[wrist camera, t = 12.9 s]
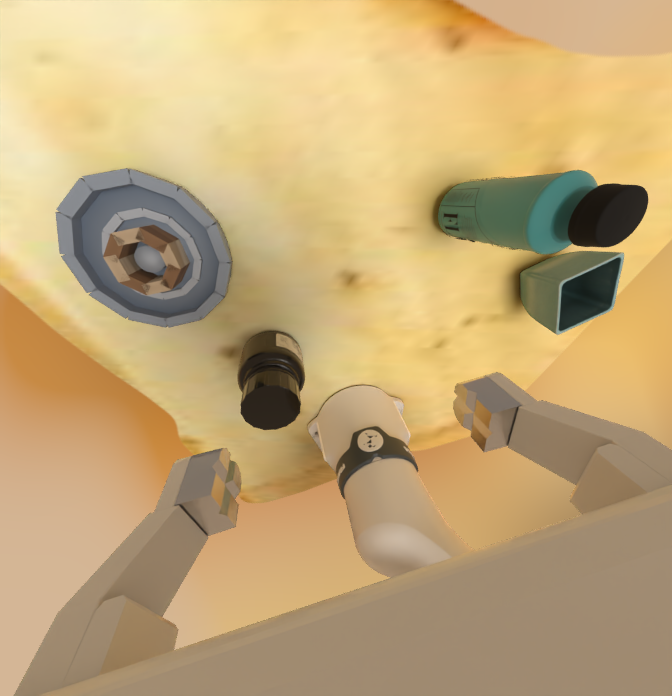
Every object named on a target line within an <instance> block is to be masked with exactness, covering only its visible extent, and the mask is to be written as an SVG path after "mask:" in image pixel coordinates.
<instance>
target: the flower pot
mask: <svg viewBox="0 0 672 696" xmlns="http://www.w3.org/2000/svg"><path fill="white" fill-rule="evenodd" d="M623 260H624V253H617V252H595V251H579V252H571V253H566V254H562V255H558V256H555V257H552V258H549V259H547V260H545V261H543V262H540V263H538V264H536V265H534V266H532V267H530V268H528V269H526V270H524V271H522V272H521V273H520V296H521V300H522V303H523V305H524V307H525V309H526V311H527V312H528V313H529V315H530V316H531V317H532V318H534V319H535V320H536V321H538V322H539V323H540V324H542V325H543V326H545V327H546V328H548V329H549V330H551V331H552V332H554V333H555V334H557V335H559V334H561V333H563V332H566V331H568V330H570V329H572V328H574V327H576V326H579V325H581V324H583V323H585V322H587V321H589V320H592V319H594V318H596V317H598V316H600V315H603V314H605V313H607V312H609V311H610V310H612V309H613V307H614V304H615V299H616V294H617V288H618V283H619V278H620V274H621V270H622V265H623Z"/></svg>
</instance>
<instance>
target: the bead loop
mask: <svg viewBox="0 0 672 696" xmlns="http://www.w3.org/2000/svg"><path fill="white" fill-rule="evenodd" d="M140 241H141V242H143V243H145V244H147V245H148V246H150V247H152V248H154V249H156V250H158V251H159V252H160V254H161V256H162V258H163V260H164V262H165V264H166V266H167V268H166V271H165V273H164V275H160V276H158V275H156V274H154V273H151V272H147V271H145V270H143V269H142V268H140V267H139V266H138V264H137V263H136V261H135V258H134V254H135V251H136V248H137V246H138V243H139V242H140ZM103 258H104V260H105V261H106V263H107V264H108V266H109V268H110V269H111V271H112V272H113V274H114V276H115V277H116V279H117V280H118V282H119V283H121V284H123V285H125V286H127V287H129V288H132V289H134V290H136V291H138V292H140V293H143V294H145V295H152V294H156V293H160V292H165V291H169V290H172V289H173V288H174V287H176V286H177V285H178V284H179V283H180V282H182V280H183V277H184V275H185V273H186V271H187V268H188V266H189V264H190V261H189V259H188V257H187V255H186V253H185V250H184V248H183V246H182V244H181V242H180V239H178V238H177V237H175V236H173V235H171V234H170V233H168V232H166V231H164V230H162V229H161V228H159V227H157V226H155V225H148V226H143V227H138V228H133V229H128V230H123V231H118V232H113V233H111V234H110V237H109V240H108V243H107V246H106V249H105V252H104V255H103Z"/></svg>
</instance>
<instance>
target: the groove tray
mask: <svg viewBox="0 0 672 696" xmlns="http://www.w3.org/2000/svg"><path fill="white" fill-rule="evenodd" d="M82 177H83V178H79V180H78V181H77V182H76V184H75V185H74V186H73V188H72V189H71V190H70V192H69V193H68V194H67V196H66V197H65V198H64V200H63V201H62V202H61V204H60V205H59V206H58V208H57V209H56V210H58V211H59V212H56V221H57V231H58V241H59V251H60V254H64V256H61V257H62V258H63V260H64V261H65V263H66V264H67V266H68V267H69V268H70V270H71V271H72V273H73V274H74V276H75V277H76V278H77V280H78V281H79V283H80V284H81V285H82V287H83V288H84V290H85V291H86V293H89V292H91V293H90V294H89V295H90V296H91V297H93V298H94V299H96V300H97V301H99V302H101V303H102V304H104V305H105V306H107V307H108V308H110V309H111V310H113V311H115V312H116V313H118V314H119V315H121V316H122V317H124V318H125V319H126V318H127V317H128V320H132V321H137V322H142V323H147V324H152V325H157V326H161V327H167V326H168V327H173V326H177V325H181V324H186V323H190V322H194V321H199V320H201V319H203V318H204V317H205V316H206V315H207V314H208V313H209V312H210V311H211V310H212V309H213V308H214V307H215V306H216V305H217V304H218V303H219V302H220V301H221V300H222V299H223V298H224V297H225V295H226V293H227V289H228V284H229V281H230V277H231V269H232V261H231V260H232V257H231V254H230V249H229V245H228V242H227V239H226V237H225V235H224V232H223V230H222V229H221V227H220V225H219V223H218V222H217V220H216V219H215V218H214V216H213V215H212V214H211V213H210V211H209V210H208V209H207V208H206V207H205V206H204V205H203V204H202V203H201V202H200V201H199V200H197V199H196V198H195V197H194V196H192V195H191V194H190V193H189V192H188V191H187V190H186V189H183V188H182V187H181V186H178V185H175V184H173V183H171V182H168V181H166V180H164V179H160V178H157V177H154V176H151V175H148V174H146V173H143V172H140V171H138V170H133V169H127V168H126V169H121V170H115V171H110V172H104V173H99V174H93V175H88V176H82ZM148 225H155V226H157V227H159V228H161V229H162V230H164V231H166V232H168V233H170V234H171V235H173V236H175V237H177V238H178V239H180V242H181V244H182V246H183V248H184V250H185V253H186V255H187V257H188V259H189V261H190V264H189V266H188V268H187V271H186V273H185V275H184V277H183V280H182V282H180V283H179V284H178V285H177V286H176V287H174V288H173V289H172V290H169V291H165V292H160V293H156V294H152V295H145V294H143V293H140V292H138V291H136V290H134V289H132V288H129V287H127V286H125V285H123V284H121V283H119V282H118V280H117V279H116V277H115V276H114V274H113V272H112V271H111V269H110V268H109V266H108V264H107V263H106V261H105V260H104V258H103V255H104V252H105V249H106V246H107V243H108V240H109V237H110V234H111V233H113V232H118V231H123V230H128V229H133V228H138V227H143V226H148ZM134 258H135V261H136V263H137V264H138V266H139V267H140V268H142V269H143V270H145V271H147V272H151V273H154V274H156V275H158V276H160V275H164V273H165V271H166V268H167V266H166V264H165V262H164V260H163V258H162V256H161V254H160V252H159V251H158V250H156V249H154V248H152V247H150V246H148V245H147V244H145V243H143V242H141V241H140V242H139V243H138V246H137V248H136V251H135V254H134Z"/></svg>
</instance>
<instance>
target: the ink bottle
mask: <svg viewBox="0 0 672 696" xmlns="http://www.w3.org/2000/svg"><path fill="white" fill-rule="evenodd" d="M304 381H305V372H304V365H303V359H302V353H301V349H300V347H299V345H298V343H297V342H296V341H295V340H294V339H293V338H292V337H291V336H289V335H287V334H285V333H282V332H276V331H270V332H264V333H260V334H258V335H256V336H254V337H252V338H251V339H250V340H249V341H248V342H247V343H246V345H245V346H244V349H243V352H242V357H241V361H240V365H239V370H238V385H239V387H240V390H241V391H242V393H243V394H242V400H241V415H242V416H243V418H244V419H245V421H246V422H248V423H249V424H250V425H252V426H253V427H256V428H260V429H263V430H271V429H274V430H276V429H278V428H282V427H285V426H287V425H288V424H290V423H291V422H293V421H294V420H295V419H296V417H297V416H298V414H299V413H300V405H301V401H300V391H301V390H302V388H303V385H304Z"/></svg>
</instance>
